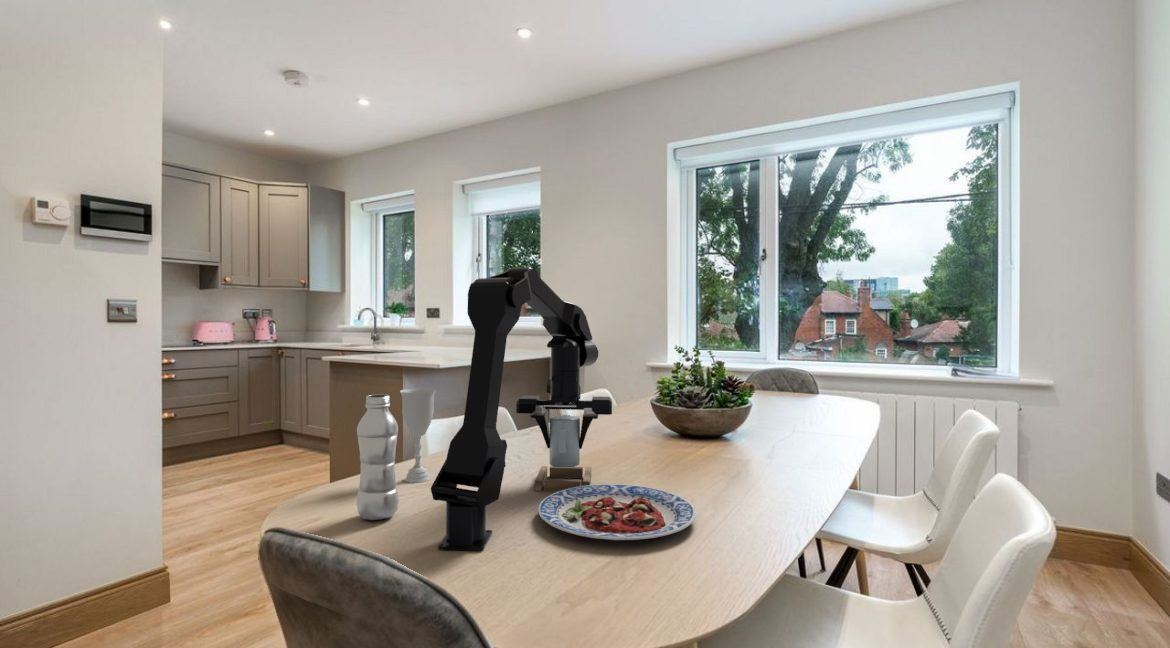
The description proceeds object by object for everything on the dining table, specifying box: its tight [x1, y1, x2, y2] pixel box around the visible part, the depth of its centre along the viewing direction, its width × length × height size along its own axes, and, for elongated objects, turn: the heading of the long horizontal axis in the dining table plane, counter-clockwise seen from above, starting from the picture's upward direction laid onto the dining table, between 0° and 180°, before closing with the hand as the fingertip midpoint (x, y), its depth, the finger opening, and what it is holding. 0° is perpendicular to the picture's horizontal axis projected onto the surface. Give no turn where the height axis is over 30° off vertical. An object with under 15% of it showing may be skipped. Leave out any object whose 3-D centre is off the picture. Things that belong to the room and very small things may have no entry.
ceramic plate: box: [537, 483, 697, 541], centre depth 92 cm, size 26×26×3 cm
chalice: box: [399, 388, 437, 484], centre depth 114 cm, size 7×7×18 cm
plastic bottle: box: [356, 394, 400, 521], centre depth 92 cm, size 6×7×20 cm
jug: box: [549, 414, 581, 468], centre depth 111 cm, size 6×10×9 cm, turn 177°
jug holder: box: [534, 465, 592, 492], centre depth 112 cm, size 10×10×2 cm
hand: (564, 448), depth 112 cm, fingers closed on jug, 6 cm apart
